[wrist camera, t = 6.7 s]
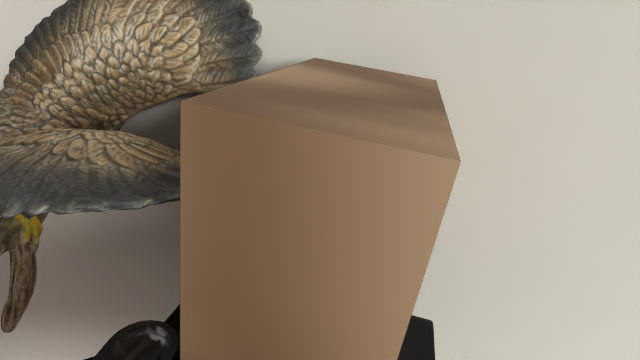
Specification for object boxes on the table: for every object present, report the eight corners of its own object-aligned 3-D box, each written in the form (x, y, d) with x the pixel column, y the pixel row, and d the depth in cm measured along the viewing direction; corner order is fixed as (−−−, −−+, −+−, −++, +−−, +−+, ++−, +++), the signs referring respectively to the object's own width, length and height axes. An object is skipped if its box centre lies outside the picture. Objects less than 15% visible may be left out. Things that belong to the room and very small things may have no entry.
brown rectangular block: (436, 80, 9) (461, 161, 4) (347, 412, 14) (301, 658, 9) (315, 57, 10) (180, 101, 4) (269, 387, 14) (180, 603, 9)
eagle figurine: (150, 306, 14) (338, 206, 9) (-181, 370, 8) (-189, 196, 3) (122, 122, 16) (256, -39, 11) (-147, 75, 11) (-122, -287, 6)
